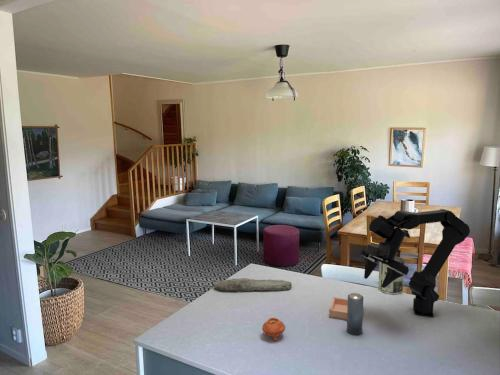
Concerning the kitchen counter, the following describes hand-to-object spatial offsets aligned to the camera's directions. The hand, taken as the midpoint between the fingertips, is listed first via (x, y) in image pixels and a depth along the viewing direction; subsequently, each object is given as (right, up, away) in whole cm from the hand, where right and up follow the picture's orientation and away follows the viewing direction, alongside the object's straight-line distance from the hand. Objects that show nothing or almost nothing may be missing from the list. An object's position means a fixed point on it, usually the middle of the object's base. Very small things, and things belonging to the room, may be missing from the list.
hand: (373, 282), depth 134 cm
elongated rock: (-43, -12, +34) cm, 56 cm away
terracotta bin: (-7, -14, +11) cm, 19 cm away
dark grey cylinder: (-8, -17, -3) cm, 18 cm away
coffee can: (+18, -11, +31) cm, 38 cm away
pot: (-36, -17, -5) cm, 41 cm away
